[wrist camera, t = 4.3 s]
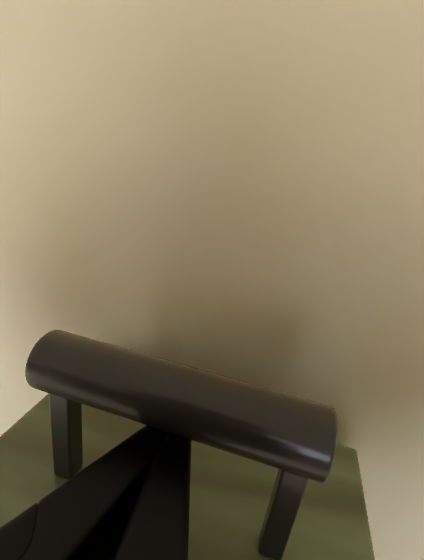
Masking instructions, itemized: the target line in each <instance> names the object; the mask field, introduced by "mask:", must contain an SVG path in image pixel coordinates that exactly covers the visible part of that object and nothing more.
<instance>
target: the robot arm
mask: <svg viewBox="0 0 424 560" xmlns="http://www.w3.org/2000/svg"><path fill="white" fill-rule="evenodd" d="M191 442H192V440H190V439H187V438H184V437H181V436H178V435H175V434H172V433H169V432H166V431H163V430H160V429H157V428H154V427H151V426H148V425H145V426H144V427H142V428H141V429H139V430H138V431H137V432H135V433H134V434H132V435H131V436H129V437H128V438H127V439H125V440H124V441H122V442H121V443H120V444H118V445H117V446H115V447H114V448H113V449H111V450H110V451H108V452H107V453H105V454H104V455H103V456H101V457H100V458H98V459H97V460H96V461H94V462H93V463H91V464H90V465H89V466H87V467H86V468H84V469H83V470H81V471H80V472H79V473H77V474H76V475H74V476H73V477H72V478H70V479H69V480H67V481H66V482H65V483H63V484H62V485H60V486H59V487H58V488H56V489H55V490H53V491H52V492H50V493H49V494H48V495H46V496H45V497H43V498H42V499H41V500H40V501H39V504H38V503H35V504H33V505H32V506H30V507H29V508H28V509H26V510H25V511H23V512H22V513H21V514H19V515H18V516H16V517H15V518H13V519H12V520H10V521H9V522H7V523H6V524H4V525H3V526H1V527H0V560H188V539H189V507H190V474H191Z"/></svg>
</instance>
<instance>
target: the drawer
mask: <svg viewBox="0 0 424 560" xmlns="http://www.w3.org/2000/svg"><path fill="white" fill-rule="evenodd" d="M25 373H26V379H27V382H28V383H29V385H30V386H31V387H33V388H35V389H38V390H41V391H45V392H48V393H49V394H48V395H46V396H45V397H44V398H43V399H42V400H41V401H40V402H39V403H37V404H36V405H35V406H34V407H33V408H32V409H31V410H30V411H29V412H27V413H26V414H25V415H24V416H23V417H22V418H21V419H20V420H19V421H17V422H16V423H15V424H14V425H13V426H12V427H11V428H10V429H8V430H7V431H6V432H5V433H4V434H3V435H2V436H1V437H0V527H1V526H3V525H4V524H6V523H7V522H9V521H10V520H12V519H13V518H15V517H16V516H18V515H19V514H21V513H22V512H23V511H25V510H26V509H28V508H29V507H30V506H32V505H33V504H35V503H38V504H39V501H40V500H41V499H42V498H43V497H45V496H46V495H48V494H49V493H50V492H52V491H53V490H55V489H56V488H58V487H59V486H60V485H62V484H63V483H65V482H66V481H67V480H69V479H70V478H72V477H73V476H74V475H76V474H77V473H79V472H80V471H81V470H83V469H84V468H86V467H87V466H89V465H90V464H91V463H93V462H94V461H96V460H97V459H98V458H100V457H101V456H103V455H104V454H105V453H107V452H108V451H110V450H111V449H113V448H114V447H115V446H117V445H118V444H120V443H121V442H122V441H124V440H125V439H127V438H128V437H129V436H131V435H132V434H134V433H135V432H137V431H138V430H139V429H141V428H142V427H144V426H145V425H148V426H151V427H154V428H157V429H160V430H163V431H166V432H169V433H172V434H175V435H178V436H181V437H184V438H187V439H190V440H192V442H191V474H190V507H189V539H188V560H375V558H374V553H373V547H372V541H371V535H370V529H369V523H368V517H367V511H366V505H365V499H364V493H363V487H362V481H361V475H360V469H359V463H358V457H357V451H356V450H355V449H352V448H349V447H346V446H342V445H339V444H336V441H337V417H336V412H335V410H334V409H333V408H332V407H330V406H326V405H323V404H319V403H315V402H312V401H308V400H305V399H301V398H298V397H294V396H291V395H287V394H284V393H280V392H277V391H273V390H270V389H266V388H262V387H259V386H255V385H252V384H248V383H245V382H241V381H238V380H234V379H231V378H227V377H224V376H220V375H217V374H213V373H209V372H206V371H202V370H199V369H195V368H192V367H188V366H185V365H181V364H178V363H174V362H171V361H167V360H164V359H160V358H156V357H153V356H149V355H146V354H142V353H139V352H135V351H132V350H128V349H125V348H121V347H118V346H114V345H111V344H107V343H104V342H100V341H96V340H93V339H89V338H86V337H82V336H79V335H75V334H72V333H68V332H65V331H61V330H54V331H51V332H48V333H47V334H45V335H44V336H43V337H42V338H40V340H39V341H38V342H37V343H36V344H35V346H34V347H33V349H32V351H31V353H30V355H29V357H28V360H27V364H26V371H25Z"/></svg>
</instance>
